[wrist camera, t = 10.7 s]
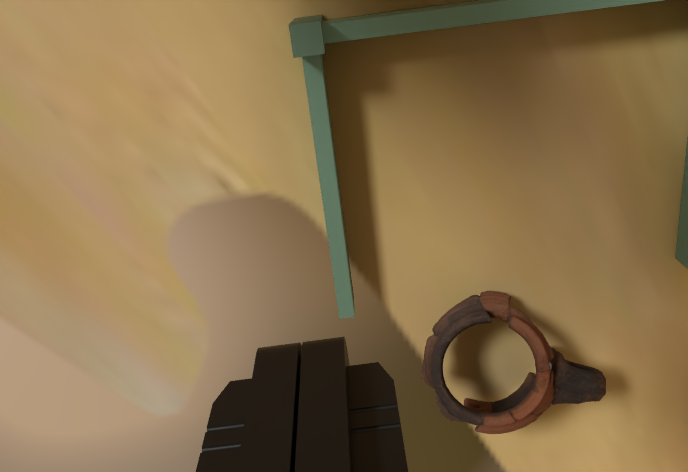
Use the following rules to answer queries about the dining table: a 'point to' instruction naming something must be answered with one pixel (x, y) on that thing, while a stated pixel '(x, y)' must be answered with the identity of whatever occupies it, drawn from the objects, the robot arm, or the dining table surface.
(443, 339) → the pottery mug
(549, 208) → the dining table surface
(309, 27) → the teal bars
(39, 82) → the dining table surface
